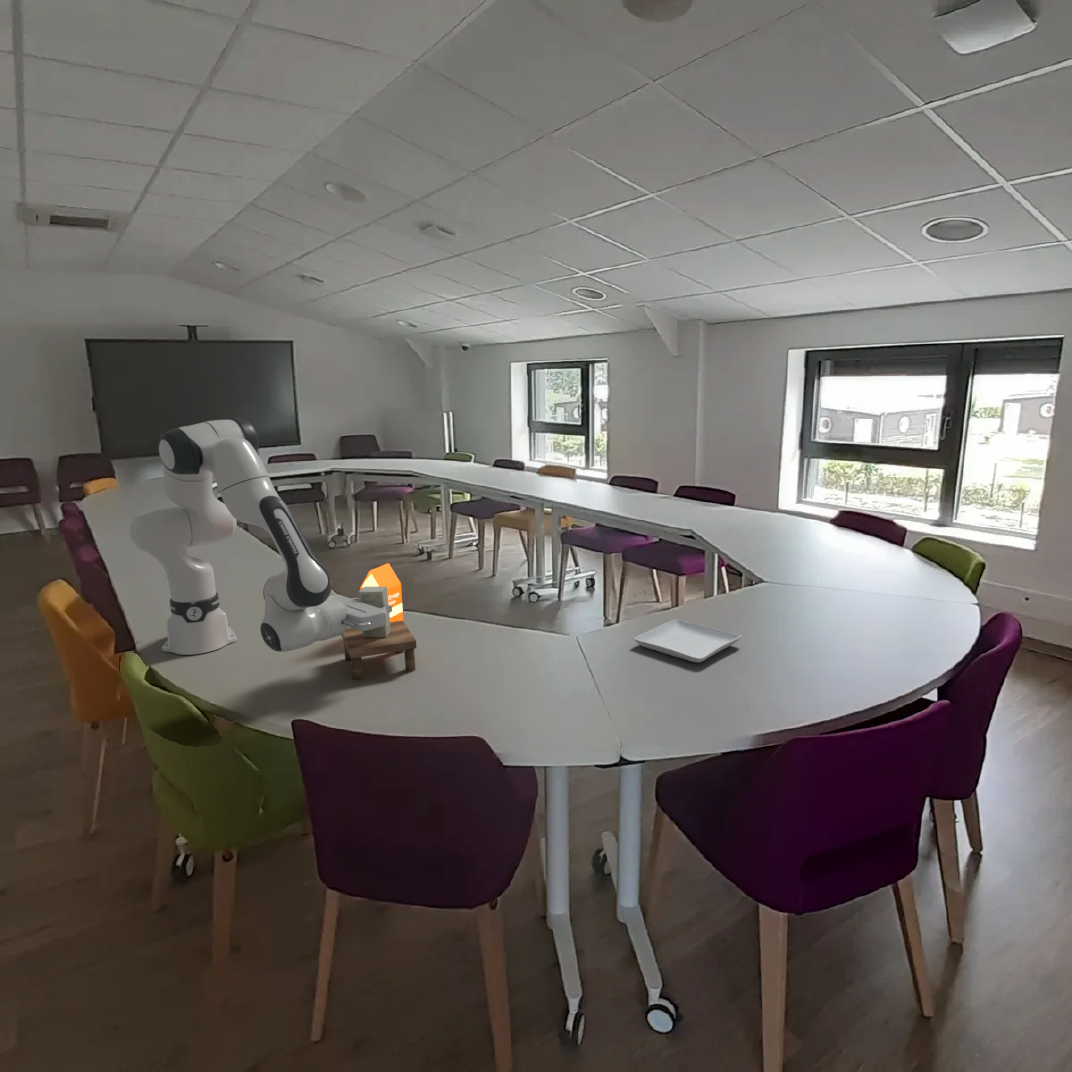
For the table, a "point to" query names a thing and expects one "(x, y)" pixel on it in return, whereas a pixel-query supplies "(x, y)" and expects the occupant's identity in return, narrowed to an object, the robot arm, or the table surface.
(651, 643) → the salad plate
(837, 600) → the table surface
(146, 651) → the table surface
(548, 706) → the table surface
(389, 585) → the orange juice
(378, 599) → the skincare box
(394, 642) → the walnut stool
